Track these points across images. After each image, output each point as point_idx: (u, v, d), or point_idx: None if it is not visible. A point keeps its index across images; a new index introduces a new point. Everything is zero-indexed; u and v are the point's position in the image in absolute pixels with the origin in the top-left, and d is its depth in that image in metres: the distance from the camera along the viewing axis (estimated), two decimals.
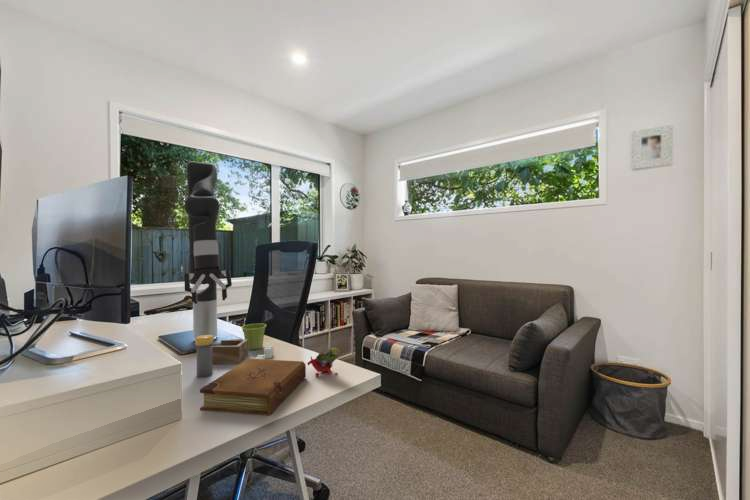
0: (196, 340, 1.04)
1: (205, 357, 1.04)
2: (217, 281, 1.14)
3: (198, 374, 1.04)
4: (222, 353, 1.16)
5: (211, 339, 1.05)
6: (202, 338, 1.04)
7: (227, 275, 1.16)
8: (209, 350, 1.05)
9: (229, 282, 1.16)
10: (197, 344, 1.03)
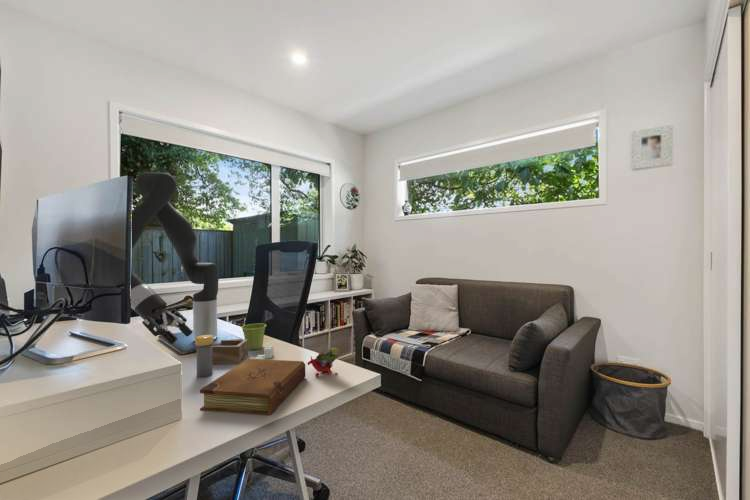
0: (196, 340, 1.04)
1: (205, 357, 1.04)
2: None
3: (198, 374, 1.04)
4: (222, 353, 1.16)
5: (211, 339, 1.05)
6: (202, 338, 1.04)
7: None
8: (209, 350, 1.05)
9: None
10: (197, 344, 1.03)
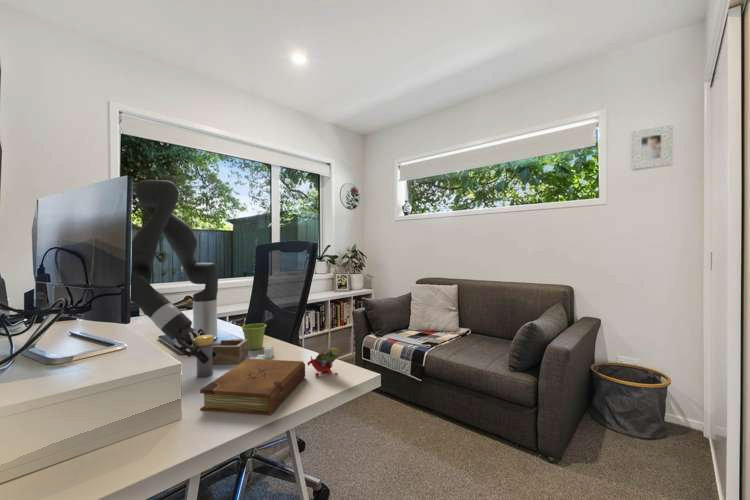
0: (196, 340, 1.04)
1: None
2: None
3: (198, 374, 1.04)
4: (222, 353, 1.16)
5: (211, 339, 1.05)
6: (202, 338, 1.04)
7: None
8: (209, 350, 1.05)
9: None
10: (197, 344, 1.04)
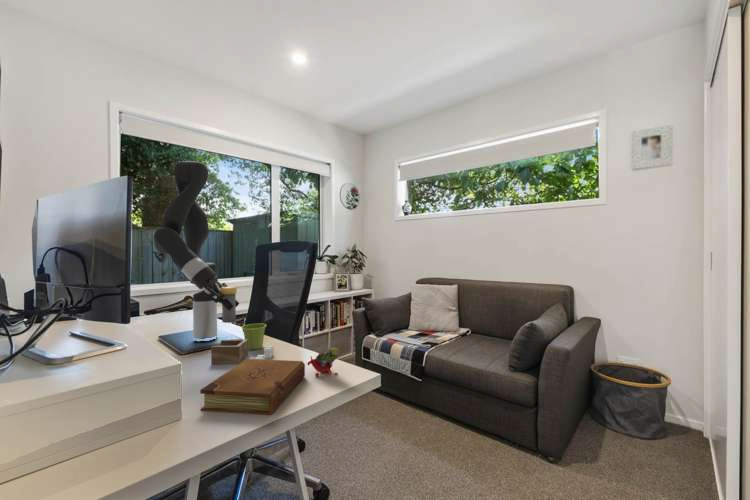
0: (222, 289, 1.17)
1: None
2: None
3: (224, 319, 1.18)
4: (222, 353, 1.16)
5: (235, 289, 1.19)
6: (227, 288, 1.18)
7: None
8: (233, 298, 1.19)
9: None
10: (223, 293, 1.17)
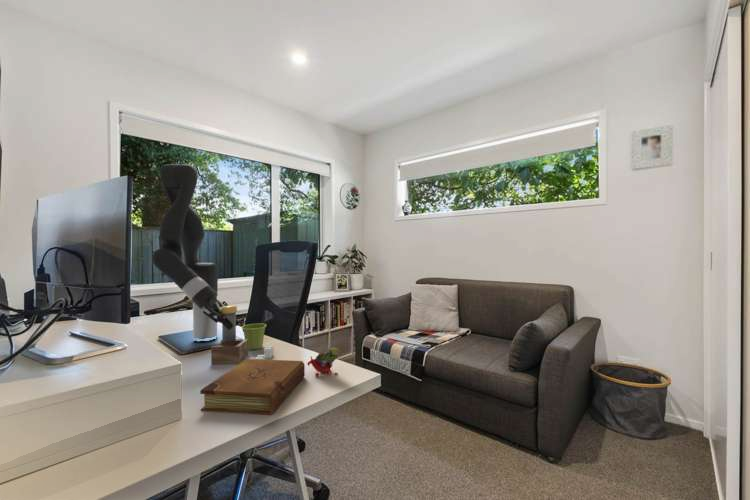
0: (222, 309, 1.17)
1: None
2: None
3: (224, 339, 1.18)
4: (222, 353, 1.16)
5: (235, 308, 1.19)
6: (227, 307, 1.18)
7: None
8: (233, 318, 1.19)
9: None
10: (223, 312, 1.17)
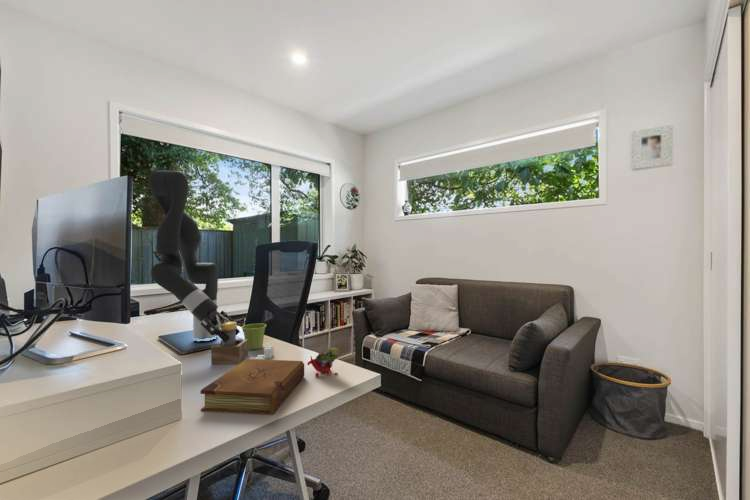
0: (222, 326, 1.18)
1: (229, 341, 1.18)
2: None
3: None
4: (222, 353, 1.16)
5: (235, 325, 1.19)
6: (227, 324, 1.18)
7: None
8: (233, 334, 1.19)
9: None
10: (223, 329, 1.18)
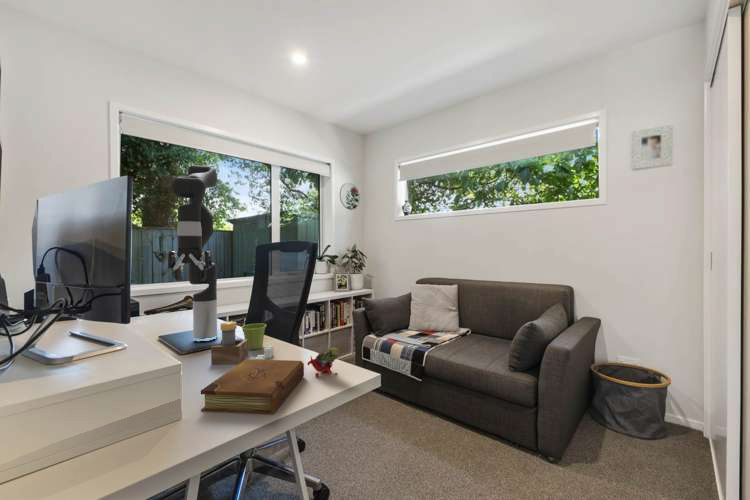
0: (222, 326, 1.18)
1: (229, 341, 1.18)
2: (195, 262, 1.18)
3: None
4: (222, 353, 1.16)
5: (234, 325, 1.19)
6: (227, 324, 1.18)
7: (205, 257, 1.18)
8: (233, 334, 1.19)
9: (207, 264, 1.18)
10: (223, 329, 1.18)
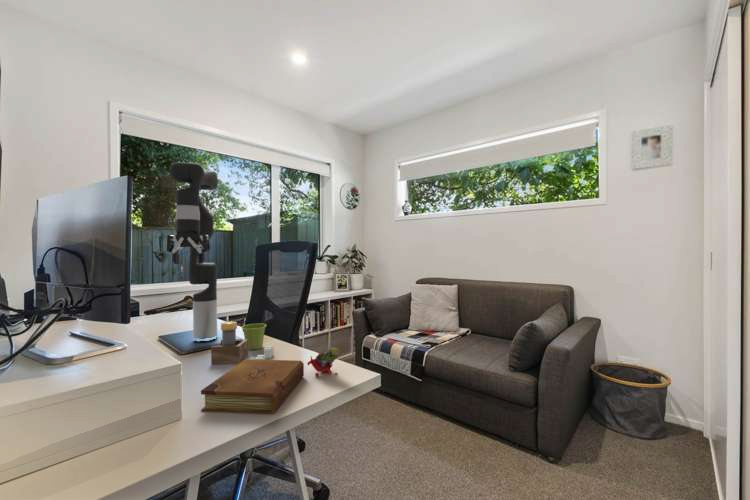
0: (222, 325, 1.18)
1: (230, 340, 1.18)
2: (194, 245, 1.20)
3: None
4: (222, 353, 1.16)
5: (235, 325, 1.20)
6: (227, 324, 1.19)
7: (204, 240, 1.20)
8: (233, 334, 1.19)
9: (205, 247, 1.20)
10: (223, 329, 1.18)
